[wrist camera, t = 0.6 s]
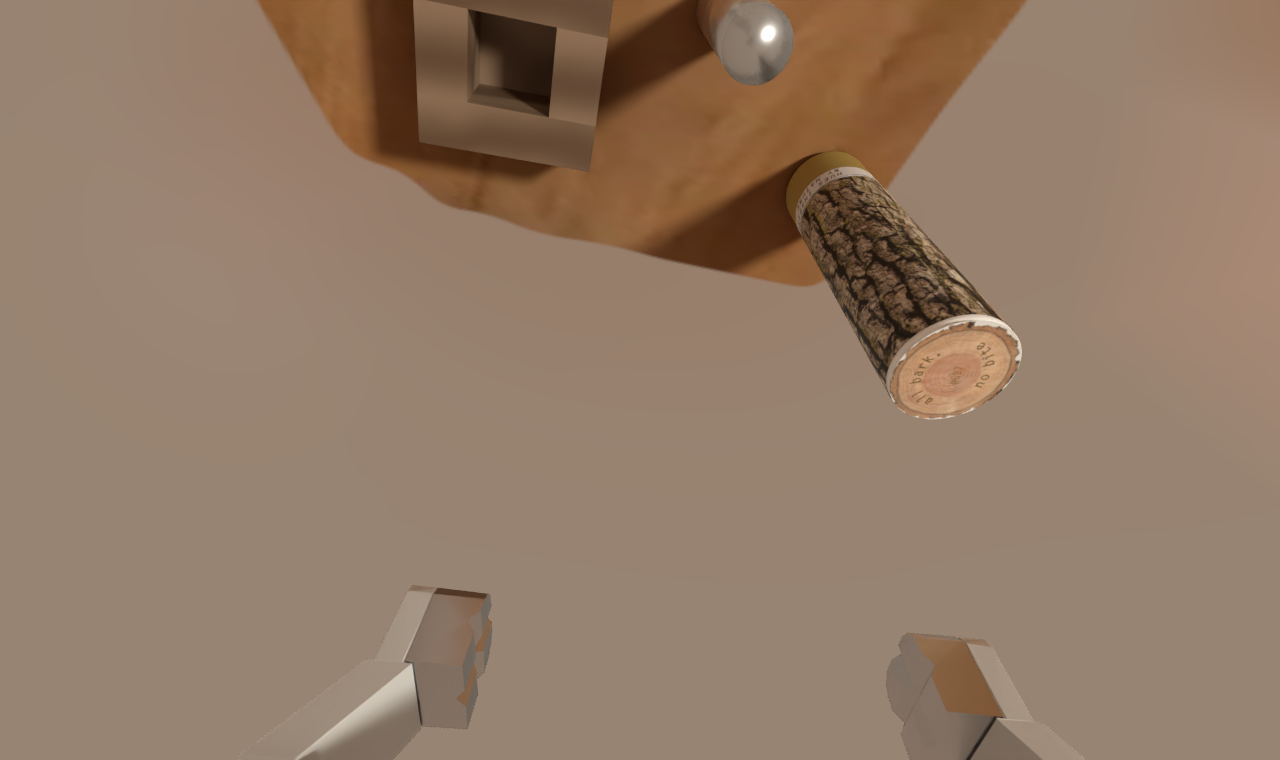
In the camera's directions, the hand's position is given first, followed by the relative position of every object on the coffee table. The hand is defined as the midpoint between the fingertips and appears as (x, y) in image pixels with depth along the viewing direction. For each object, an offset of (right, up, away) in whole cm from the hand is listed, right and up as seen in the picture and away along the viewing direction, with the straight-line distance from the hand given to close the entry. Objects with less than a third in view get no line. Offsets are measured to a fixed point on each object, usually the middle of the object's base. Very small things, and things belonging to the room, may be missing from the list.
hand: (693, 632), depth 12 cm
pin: (+5, +31, +30) cm, 44 cm away
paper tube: (+15, +21, +39) cm, 47 cm away
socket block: (-10, +29, +31) cm, 44 cm away
